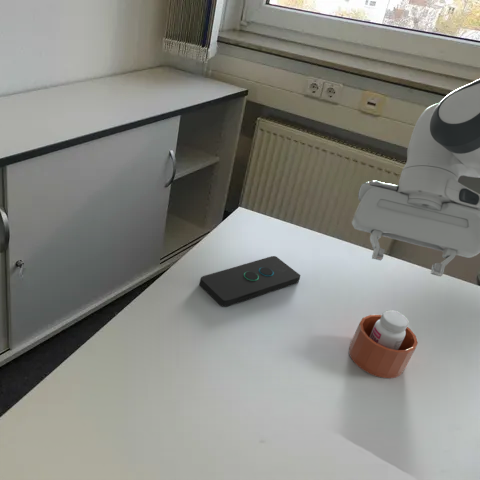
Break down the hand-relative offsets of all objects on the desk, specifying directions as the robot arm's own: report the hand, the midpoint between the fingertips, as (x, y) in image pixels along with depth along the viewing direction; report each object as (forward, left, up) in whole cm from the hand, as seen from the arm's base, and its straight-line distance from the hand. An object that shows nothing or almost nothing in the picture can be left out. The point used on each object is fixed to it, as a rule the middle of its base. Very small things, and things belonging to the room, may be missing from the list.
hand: (406, 266), depth 92 cm
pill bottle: (-2, +8, -14) cm, 16 cm away
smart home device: (+24, +4, -15) cm, 28 cm away
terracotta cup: (-2, +8, -14) cm, 17 cm away
